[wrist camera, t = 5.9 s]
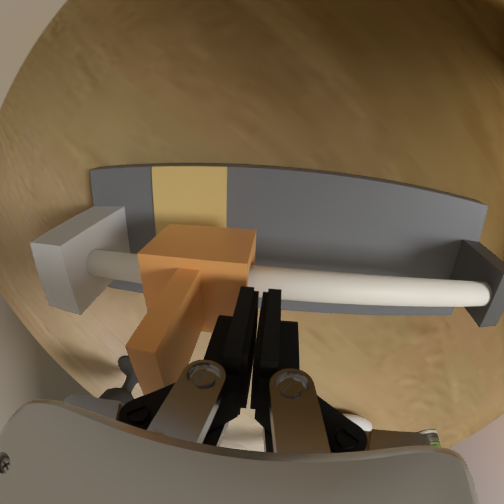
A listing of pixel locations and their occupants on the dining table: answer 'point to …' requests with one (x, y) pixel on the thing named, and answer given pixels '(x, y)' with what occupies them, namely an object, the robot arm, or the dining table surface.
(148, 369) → the orange l-shaped block
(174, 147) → the dining table surface
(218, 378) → the robot arm
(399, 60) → the dining table surface
